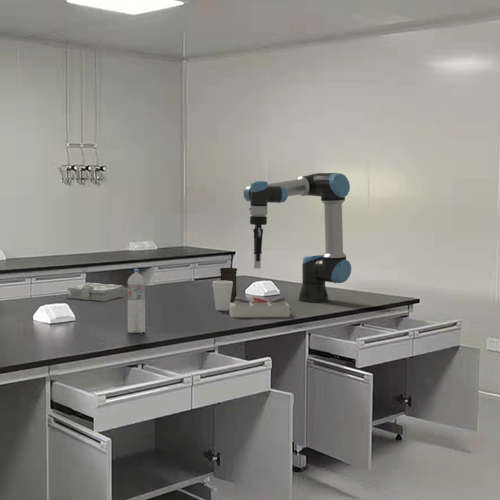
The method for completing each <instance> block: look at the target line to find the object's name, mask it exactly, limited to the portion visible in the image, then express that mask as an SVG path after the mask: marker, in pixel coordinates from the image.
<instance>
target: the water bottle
mask: <svg viewBox="0 0 500 500" xmlns="http://www.w3.org/2000/svg"><path fill="white" fill-rule="evenodd" d="M139 270H140V269H139V268H138V269H137V268H134V269H133V272H134V273H132V274H131V275H130V276H129V277H128V279H127V332H128V333H129V334H132V333H140V334H144V333H145V331H146V279H145V278H144V276H143V275H142V274H140V273H139V272H140V271H139ZM143 332H144V333H143Z"/></svg>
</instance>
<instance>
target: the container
mask: <svg viewBox="0 0 500 500" xmlns="http://www.w3.org/2000/svg"><path fill="white" fill-rule="evenodd" d="M219 271H220V272H219V273H220V281H232V282H233V287H232V293H231V300H230V303H234V301H236V300H235V297H237V271H238V268H237V267H221V268H219Z"/></svg>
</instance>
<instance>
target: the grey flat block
mask: <svg viewBox="0 0 500 500" xmlns="http://www.w3.org/2000/svg"><path fill="white" fill-rule="evenodd" d="M67 291H69V294H67V299H72V300H73V299H77V300H83V301H84V300H85V301H97V302H109V301H110V300H114V299H121V298H124V296H125V293H126V290H125V286H124V285H122V284H120V285H119V284H118V285H117V284H110V283H109V284H104V283H101V282H100V283H99V282H85V284H81V285H75V286H74V285H73V286H68V287H67Z"/></svg>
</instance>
